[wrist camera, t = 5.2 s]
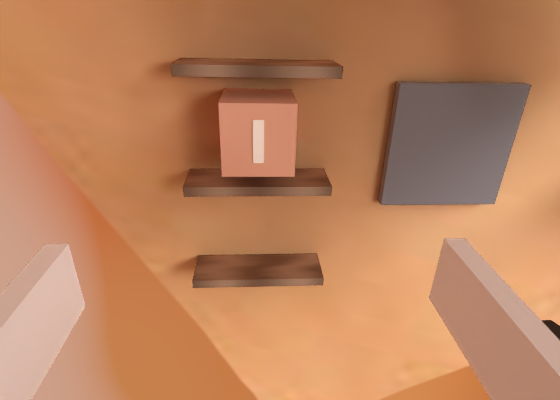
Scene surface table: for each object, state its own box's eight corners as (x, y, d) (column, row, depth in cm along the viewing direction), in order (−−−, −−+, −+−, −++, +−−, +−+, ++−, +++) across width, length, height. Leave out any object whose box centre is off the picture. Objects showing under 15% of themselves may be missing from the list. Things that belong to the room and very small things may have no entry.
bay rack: (343, -82, 26) (358, -97, 22) (316, 260, 39) (322, 285, 35) (167, -90, 25) (153, -107, 22) (198, 262, 38) (193, 287, 34)
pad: (523, 83, 32) (531, 85, 31) (488, 199, 37) (494, 204, 36) (396, 81, 31) (400, 83, 30) (378, 200, 36) (381, 204, 35)
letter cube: (291, 89, 31) (298, 104, 26) (288, 152, 34) (294, 177, 29) (224, 88, 31) (218, 103, 26) (226, 152, 33) (221, 177, 28)
